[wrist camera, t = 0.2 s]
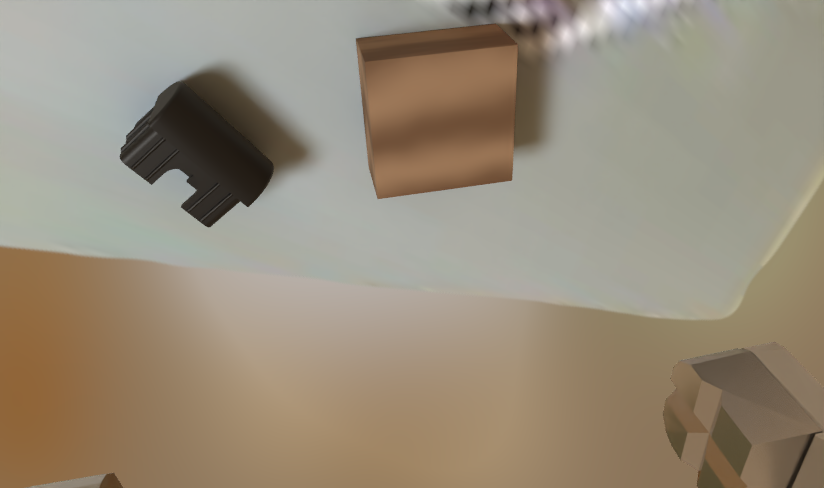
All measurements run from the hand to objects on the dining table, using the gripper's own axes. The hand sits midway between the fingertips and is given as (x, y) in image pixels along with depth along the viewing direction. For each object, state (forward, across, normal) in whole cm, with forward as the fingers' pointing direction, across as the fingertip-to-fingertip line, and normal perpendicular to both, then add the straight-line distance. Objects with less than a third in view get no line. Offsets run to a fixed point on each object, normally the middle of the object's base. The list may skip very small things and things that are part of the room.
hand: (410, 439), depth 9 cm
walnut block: (+47, -9, +15) cm, 50 cm away
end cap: (+48, +11, +15) cm, 51 cm away
